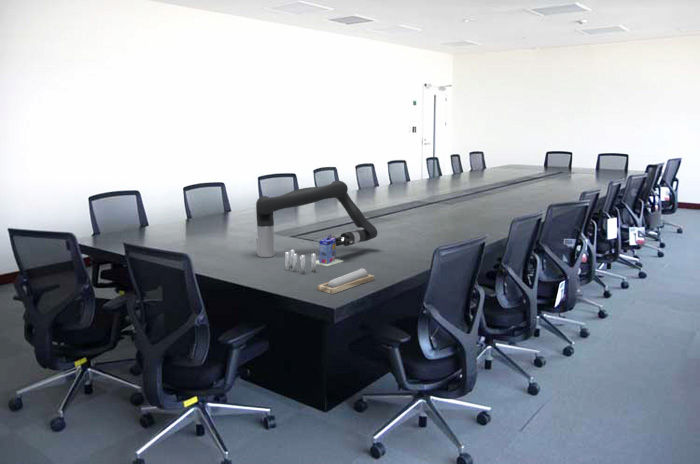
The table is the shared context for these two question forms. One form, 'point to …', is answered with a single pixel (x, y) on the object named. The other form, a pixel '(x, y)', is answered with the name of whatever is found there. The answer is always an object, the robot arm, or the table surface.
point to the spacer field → (293, 261)
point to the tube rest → (344, 285)
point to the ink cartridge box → (327, 250)
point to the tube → (348, 278)
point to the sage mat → (329, 263)
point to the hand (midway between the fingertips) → (330, 243)
